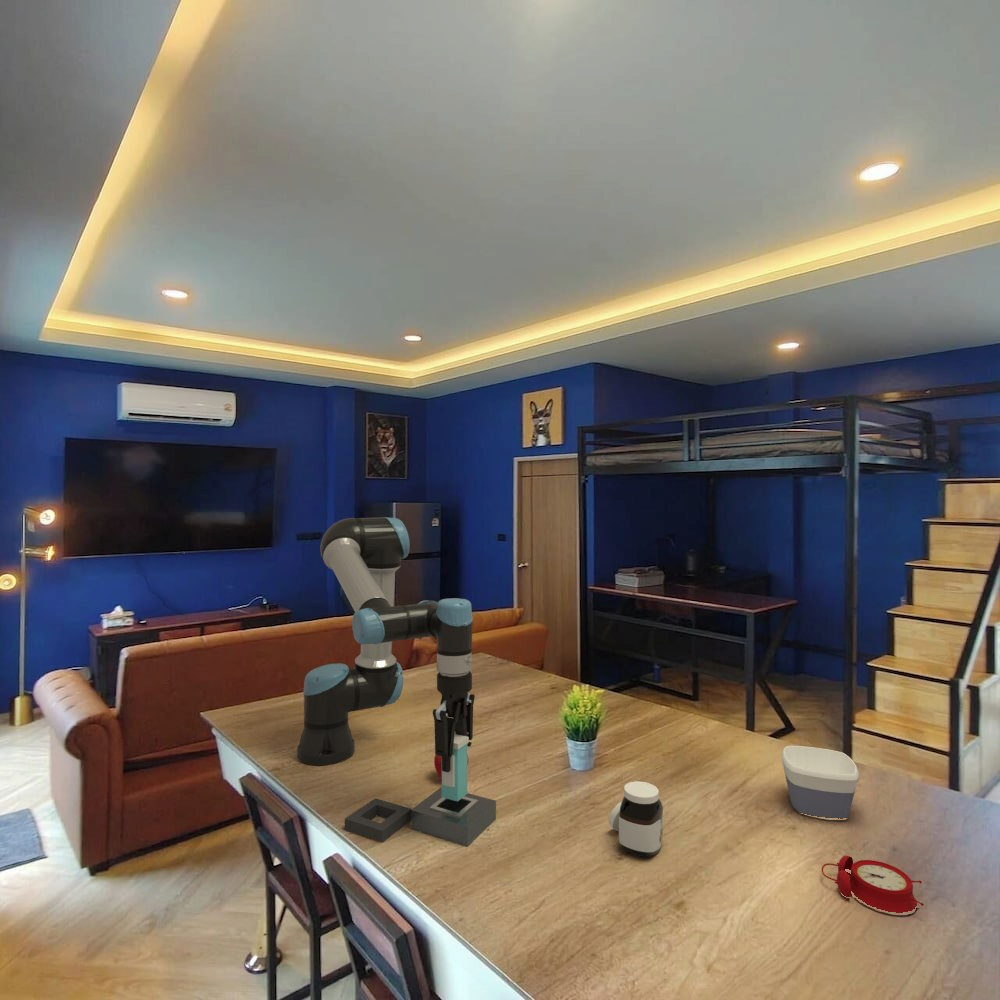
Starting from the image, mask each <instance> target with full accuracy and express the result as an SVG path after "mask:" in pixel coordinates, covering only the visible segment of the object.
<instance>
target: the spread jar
mask: <svg viewBox="0 0 1000 1000" xmlns="http://www.w3.org/2000/svg"><path fill="white" fill-rule="evenodd" d="M623 795H624V796H623V797H622V800H621V801H619V802H618V803H617V804H616V805H615V806H614V807H613V809H612V810H611V812H610V814H609V817H608V824H609V826H610V827H611V828H612V829H613V830H614V831H617V832H618V840H619V841H618V842H619V844H620V846H621V847H622V848H623V849H624V850H625V851H627V852H628V853H630V854H632V855H634V856H638V857H645V858H646V857H652V856H655V855H657V854H658V853H659V852H660V850H661V846H662V843H663V836H664V835H663V834H664V808H663V807H664V806H663V803H662V801H661V800H660V798H659V788H657V786H656V785H654V784H652V783H649V782H645V781H639V780H638V781H630V782H627V783H626V784H624V786H623Z"/></svg>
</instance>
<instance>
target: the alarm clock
mask: <svg viewBox="0 0 1000 1000" xmlns="http://www.w3.org/2000/svg"><path fill="white" fill-rule="evenodd" d="M826 866H836V867H837V869H838V870H837V875H836V879H835V878H832V877H831V876H828V875H826V874H825V872H824V868H825V867H826ZM845 869H849V870H851V874H850V873H848V872H846V871H845ZM821 873H822V875H823V876H824V877H825V878H827V879H829V880H831V881H834V883H835V884H837V888H838V891H839V893H840V892H841V893H842V894H843V895H844V896H846V897H852V896H851V891H852V892H853V893H854V895H855V896H856V897H858V899H860V900H862V901H863V902H865V903H866V904H867V905H870V906H872V907H876V908H877V909H881V910H885V911H888V912H896V913H903V912H908V911H912V910H913V909H915V907H916V906H917V905H918V904H920V906H924V903H923V902H920V901H919V900H917V899H916V898H915V896H914V883H919V884H922V883H923V881H922V880H921V879H919V880H912V879H911V878H910V876H909V875H907V873H905V872H904V871H903V870H902V869H900V868H898V867H896V866H894V865H891V864H888V863H885V862H882V861H879V860H871V859H861V860H857V861H855V862H854V858H853V857H852V856H850V855H842V857H841V858H840V859H839V861H838V862H837V864H836V863H831V862H830V863H824V864H823V865H822V867H821ZM848 875H850V876H848ZM841 893H840V894H841Z"/></svg>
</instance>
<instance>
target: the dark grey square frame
mask: <svg viewBox="0 0 1000 1000" xmlns="http://www.w3.org/2000/svg"><path fill="white" fill-rule="evenodd" d="M411 809H412V808H410V807H408V806H404V805H401V804H397V803H393V802H390V801H386V800H384V799H379V798H374V799H372V800H370V801H369V802H368V803H366V804H365V805H363V806H361V807H360V808H358V809H357V810H355V811H354V812H352V813H351V814H349V815H348V816H346V817H345V818H344V831H345V832H346V831H347V832H349V833H353V834H356V835H359V836H362V837H364V838H368V839H371V840H373V841H376V842H380V843H384V842H385V841H387V840H388V839H390V838H391V836H393V835H394V834H395V833H397V832H398V831H399V830H400V829H402V828H403V827H405V825H407V824H408V823H409V822H411ZM375 816H376V817H380V818H384V820H383V821H381V822H378V821H376V820H373V819H374V818H375Z"/></svg>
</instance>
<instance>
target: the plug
mask: <svg viewBox="0 0 1000 1000" xmlns="http://www.w3.org/2000/svg"><path fill="white" fill-rule="evenodd" d="M469 742H470V740H469V737H467V736H462V735H457V734H455V735H454V744H453V754H452V755H455V786H454V787H449V786H445V785H442V784H441V787H442V797H443V798H446V799H450V800H454V801H457V802H458V801H459V800H460V799H461V798H463V797H464V796H465V795H466V794H467V793H468V766H467V754H468V746H467V743H469Z"/></svg>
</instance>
